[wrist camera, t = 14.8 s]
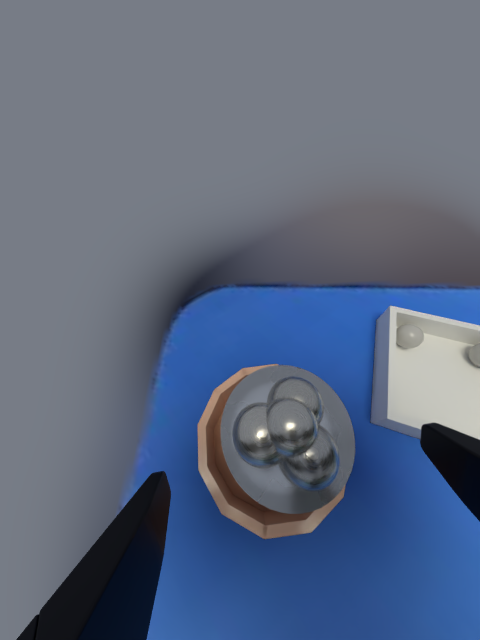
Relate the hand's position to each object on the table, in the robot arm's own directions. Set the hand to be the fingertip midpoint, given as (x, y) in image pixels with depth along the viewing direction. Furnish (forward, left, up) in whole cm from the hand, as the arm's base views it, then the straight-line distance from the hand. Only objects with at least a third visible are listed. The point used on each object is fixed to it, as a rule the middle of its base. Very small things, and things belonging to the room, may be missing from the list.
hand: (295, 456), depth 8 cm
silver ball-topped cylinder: (0, +1, -13) cm, 13 cm away
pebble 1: (+17, 0, -13) cm, 22 cm away
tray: (+16, -5, -14) cm, 22 cm away
